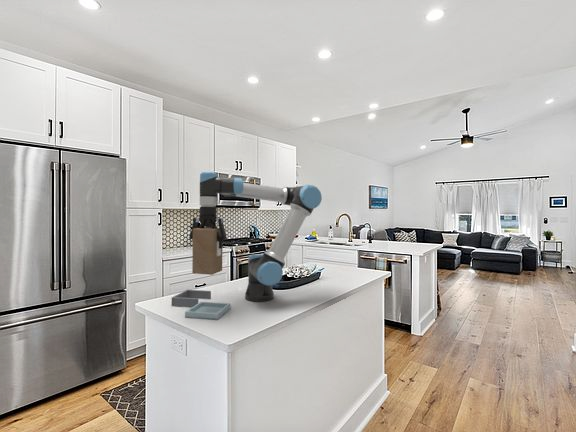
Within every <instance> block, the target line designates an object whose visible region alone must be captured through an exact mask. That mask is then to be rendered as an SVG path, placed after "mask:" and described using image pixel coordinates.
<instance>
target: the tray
mask: <svg viewBox="0 0 576 432" xmlns="http://www.w3.org/2000/svg"><path fill="white" fill-rule="evenodd" d="M231 305H232V304H231V303H228V302H213V301H211V302H210V301H200V302H199V301H198V304H196V305H195V306H193V307H189V309H187V310H186V311H185V312H184V318H186V319H187V318H188V319H201V320H211V321H212V320H215V321H218V320H219V319H221V317H223V316H224V315H225V314H226V313H227V312H228V311H230V310H231V307H232V306H231Z"/></svg>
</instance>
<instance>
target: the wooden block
mask: <svg viewBox="0 0 576 432" xmlns="http://www.w3.org/2000/svg"><path fill="white" fill-rule="evenodd" d="M217 232H220V229H219V227H217V229H212V228H211V227H205V228H199V227H197V228H195V229H193V240H192V265H191V266H192V268H191V269H192V274H195V275H207V276H208V275H209V276H212V275H215V274H218V273H220V272H223V248H221V255H220V256H217V241H218V239H217ZM220 234H221V233H220Z"/></svg>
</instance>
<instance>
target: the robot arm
mask: <svg viewBox="0 0 576 432" xmlns="http://www.w3.org/2000/svg"><path fill="white" fill-rule="evenodd" d="M218 194H220V195H221V196H231V197H240V198H247V199H254V200H261V201H267V202H268V201H269V202H276V203H280V204H281V205H284V206H289V207H290V209H289V210H290V211H289V212H288V214H287V216H286V218H285V219H284V221H283V223H282V225H281V227H280V228H279V230H278V232H277V235H276V236H275V238H274V240H273V242H272V244H271V245H270V247H269V250H267V251H264V252H263V253H261V254H250V255H249V256H248V261H247V262H248V263H247V264H248V267H247V269H248V277H247V279H248V284H247V287H246V289H245V293H244V298H245V299H244V300H247V301H249V302H257V303H258V302H268V301H270V300H273V299H274V297H275V296H274V295H275V292H274V289H273V286H275V285H277V284H278V283H279V282H280V281H281V279H282V277H283V275H284V274H283V268H284V266H285V265H286V262H285V258H286V256H287V254H288V252H289V250H290V248H291V247H292V244H293V243H294V240H295V238H297V237H296V236H297V235H298V233H299V231H300V229H301V228H302V225H303V224H304V222H305V220H306V218H307V217H309V216H311V215H312V213H313V211H314V209H316V208H317V207H319V206H320V204H321V202H322V196H323V195H322V193H321V191H320V189H319V187H317V186H315V185H312V184H305V185H302V186H300V185H299V186H292V187H291V186H289V187H288V186H283V187H276V186H269V185H262V184H255V183H248V182H244V180H243V179H242V178H241V177H225V176H224V177H223V176H218V173H217V172H215V171H202V172H201V173H200V174H199V206H200V207H199V217H193V219H192V226H191V230H190V234H189V239H190V240H192V241H193V229H195V228H212V229H217V228H219V229H220V232H217V239H218V241H217V256H220V255H221V248H222V249H223V246H224V245H223V244H224V243H223V242H224V241H226V240H227V234H226V230H225V226H224V218H222V217H221V218H218V217H217V210H218V209H217V207H216V206H217V205H218V203H217V202H218V199H217V197H218V196H217V195H218ZM216 222H217V223H216ZM199 223H200V224H199ZM217 224H218V225H217ZM217 226H218V227H217ZM220 233H221V234H220Z"/></svg>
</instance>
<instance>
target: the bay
mask: <svg viewBox="0 0 576 432" xmlns="http://www.w3.org/2000/svg"><path fill="white" fill-rule="evenodd" d="M199 299H204V300H211V299H212V291H211V290H199V289H185V290H184V291H182V292H180V293H178V294H175V295H174V296H172V297H171V307H182V308H183V307H185V308H192V307H193V306H195V305H196V304H198V303H199Z"/></svg>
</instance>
